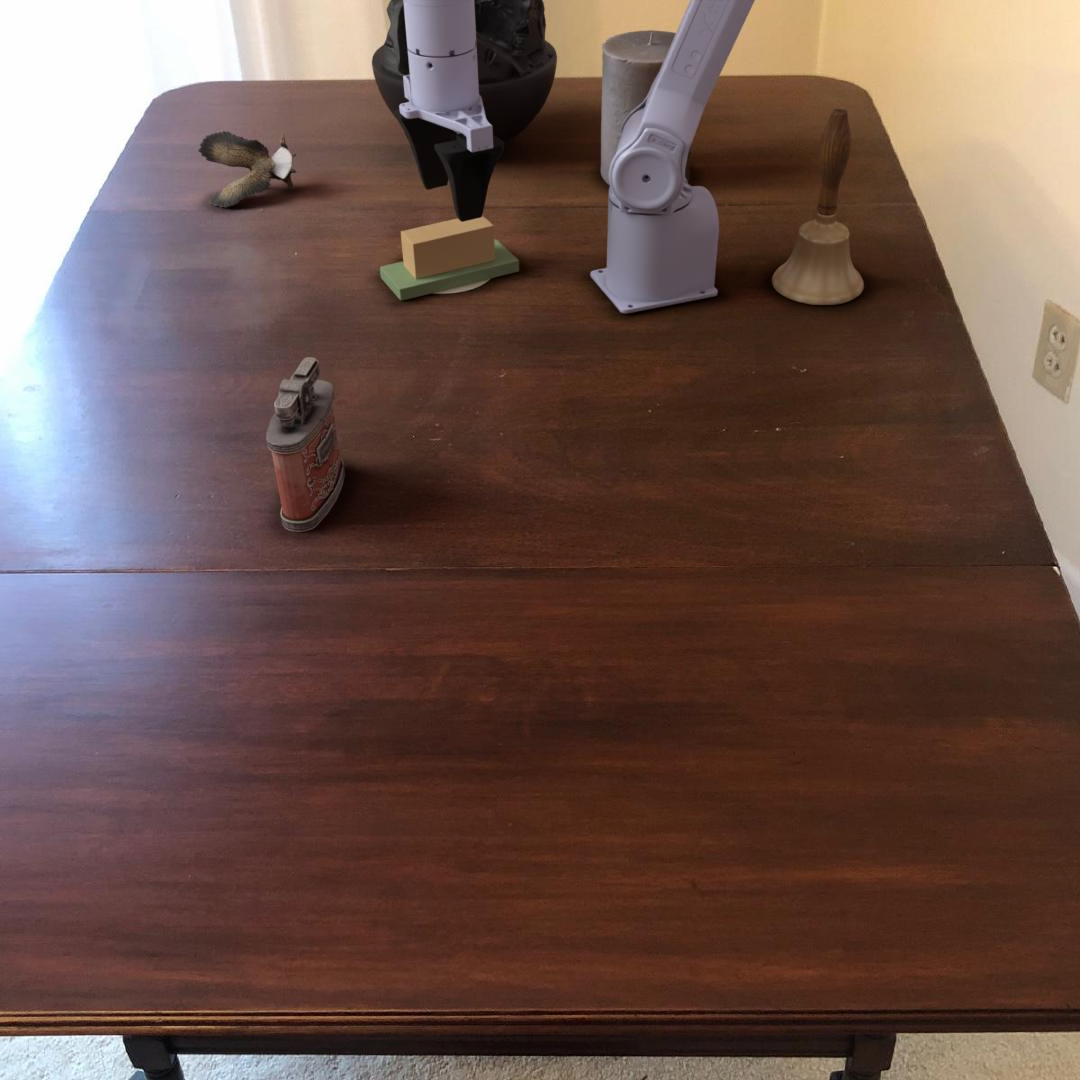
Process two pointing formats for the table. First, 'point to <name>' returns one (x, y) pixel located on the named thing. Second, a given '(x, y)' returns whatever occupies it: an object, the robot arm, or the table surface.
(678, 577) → the table surface
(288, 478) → the lighter
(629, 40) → the pillar candle
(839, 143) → the hand bell
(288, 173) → the eagle figurine
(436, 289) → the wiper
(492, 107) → the bowl of black rocks
